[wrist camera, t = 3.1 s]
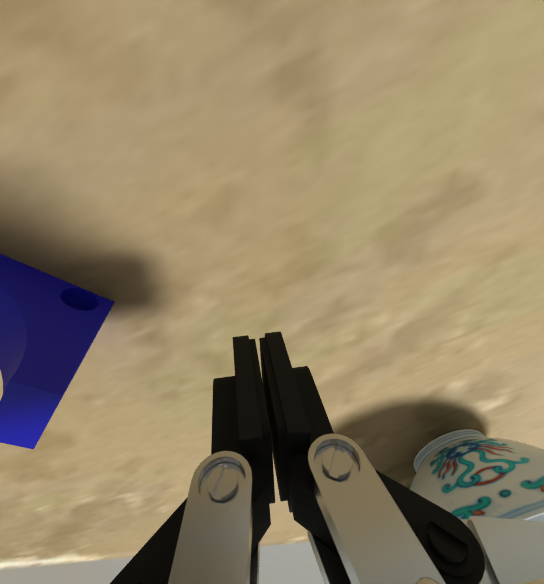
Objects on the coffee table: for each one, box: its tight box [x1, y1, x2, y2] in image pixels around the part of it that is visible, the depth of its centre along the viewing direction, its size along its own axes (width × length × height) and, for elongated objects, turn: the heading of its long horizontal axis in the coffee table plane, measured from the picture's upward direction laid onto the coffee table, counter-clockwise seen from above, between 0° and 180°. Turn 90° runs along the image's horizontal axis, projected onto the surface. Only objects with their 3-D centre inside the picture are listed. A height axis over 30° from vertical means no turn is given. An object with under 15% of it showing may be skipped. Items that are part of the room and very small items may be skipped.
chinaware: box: [410, 429, 544, 522], centre depth 24 cm, size 15×15×8 cm
